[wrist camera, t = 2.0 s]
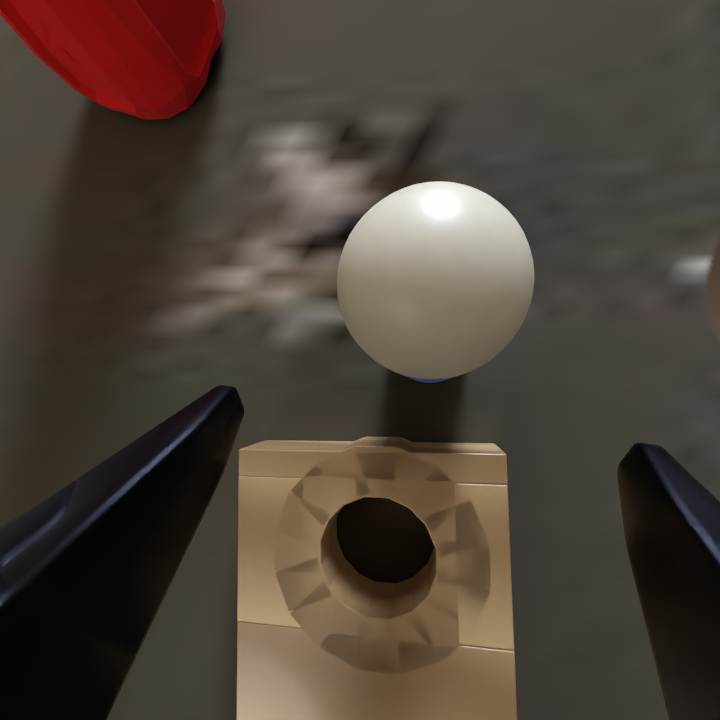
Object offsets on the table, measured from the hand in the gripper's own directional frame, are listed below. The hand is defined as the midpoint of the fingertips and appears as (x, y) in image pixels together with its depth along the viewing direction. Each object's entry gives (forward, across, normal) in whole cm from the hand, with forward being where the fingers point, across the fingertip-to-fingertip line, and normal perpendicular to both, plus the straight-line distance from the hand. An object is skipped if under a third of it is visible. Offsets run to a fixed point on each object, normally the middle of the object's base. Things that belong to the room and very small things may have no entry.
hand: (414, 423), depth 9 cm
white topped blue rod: (+10, 0, +5) cm, 11 cm away
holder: (+1, +1, +14) cm, 14 cm away
